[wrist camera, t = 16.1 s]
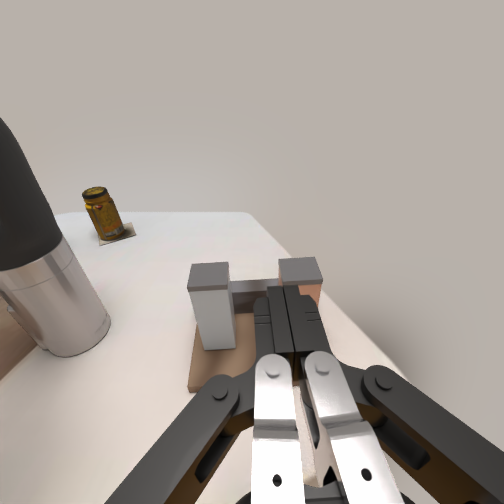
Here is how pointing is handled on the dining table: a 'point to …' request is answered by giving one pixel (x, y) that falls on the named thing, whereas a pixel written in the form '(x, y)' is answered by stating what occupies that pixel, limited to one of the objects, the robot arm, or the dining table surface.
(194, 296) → the grey tall block
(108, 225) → the condiment
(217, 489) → the dining table surface
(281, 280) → the orange-brown tall block
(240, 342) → the base
